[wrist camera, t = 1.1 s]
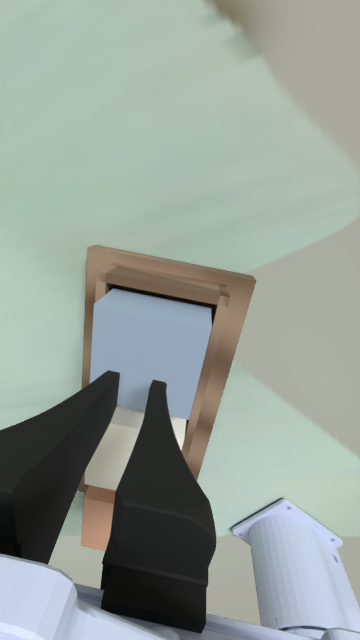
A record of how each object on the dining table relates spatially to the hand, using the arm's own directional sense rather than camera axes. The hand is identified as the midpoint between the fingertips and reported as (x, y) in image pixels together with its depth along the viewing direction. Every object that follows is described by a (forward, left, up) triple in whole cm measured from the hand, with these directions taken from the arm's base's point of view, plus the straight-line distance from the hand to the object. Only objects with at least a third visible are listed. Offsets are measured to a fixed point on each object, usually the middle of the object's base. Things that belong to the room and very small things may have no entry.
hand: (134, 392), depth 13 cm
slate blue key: (0, 0, -6) cm, 6 cm away
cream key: (-4, +7, -6) cm, 10 cm away
